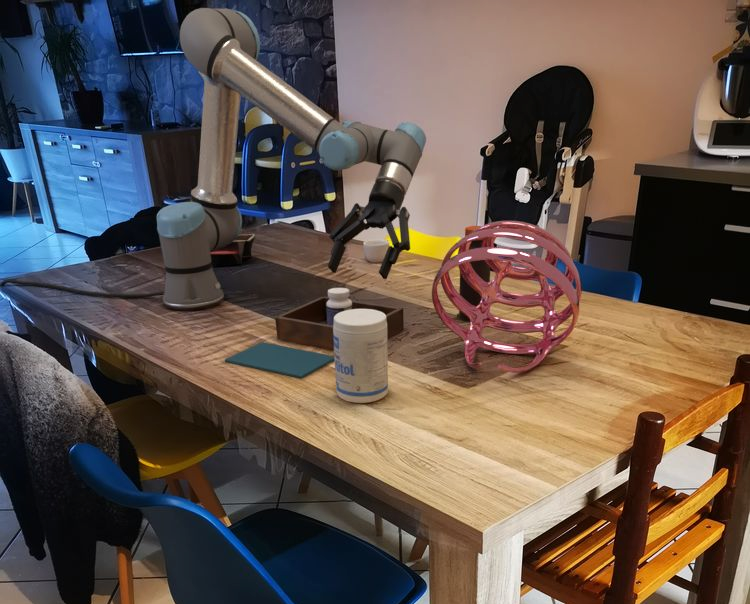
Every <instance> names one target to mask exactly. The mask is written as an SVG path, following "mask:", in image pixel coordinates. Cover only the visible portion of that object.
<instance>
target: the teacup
mask: <svg viewBox="0 0 750 604" xmlns="http://www.w3.org/2000/svg"><path fill="white" fill-rule="evenodd" d="M362 245H363V253H364V257H365V259H366V260H367V261H368V262H370V263H372V264H373V263H374V264H378V263H382V262H383V260H384V257H385V255H386V252H387V250H388V247H389V246H390V241H389V240H386V239H369V240H368V239H367V240H365V241H363V244H362Z"/></svg>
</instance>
